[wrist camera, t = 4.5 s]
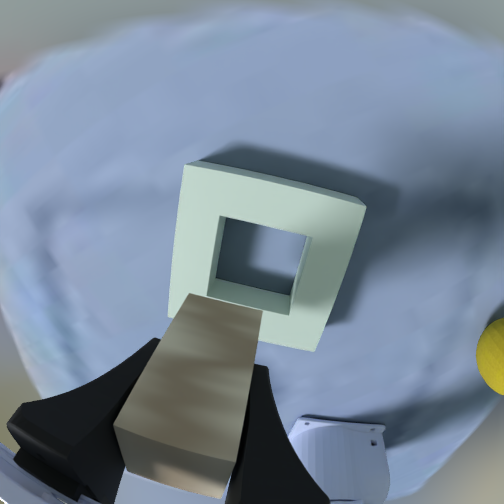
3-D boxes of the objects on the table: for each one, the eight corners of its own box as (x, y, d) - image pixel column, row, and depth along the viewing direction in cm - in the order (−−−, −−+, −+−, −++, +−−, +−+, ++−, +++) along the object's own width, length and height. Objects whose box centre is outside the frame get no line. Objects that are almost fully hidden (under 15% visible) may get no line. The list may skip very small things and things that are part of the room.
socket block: (357, 197, 18) (366, 206, 15) (312, 330, 21) (314, 351, 19) (197, 160, 18) (184, 164, 16) (179, 298, 22) (167, 316, 20)
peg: (262, 310, 14) (235, 462, 7) (248, 364, 16) (220, 498, 8) (189, 292, 14) (113, 424, 7) (183, 347, 16) (127, 471, 8)
